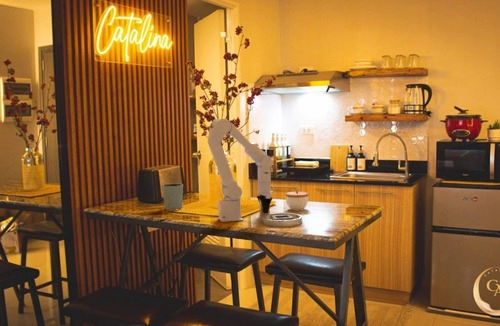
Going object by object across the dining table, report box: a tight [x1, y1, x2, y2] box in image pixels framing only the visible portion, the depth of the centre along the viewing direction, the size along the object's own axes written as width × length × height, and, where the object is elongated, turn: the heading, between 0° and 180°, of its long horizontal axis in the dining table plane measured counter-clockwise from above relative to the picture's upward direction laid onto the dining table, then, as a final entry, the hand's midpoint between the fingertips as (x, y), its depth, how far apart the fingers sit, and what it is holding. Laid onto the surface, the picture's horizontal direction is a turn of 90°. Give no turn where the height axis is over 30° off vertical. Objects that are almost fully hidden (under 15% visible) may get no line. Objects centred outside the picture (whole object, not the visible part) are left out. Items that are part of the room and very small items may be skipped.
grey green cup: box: [161, 182, 184, 211], centre depth 250 cm, size 10×10×12 cm
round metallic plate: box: [261, 212, 303, 228], centre depth 215 cm, size 16×16×2 cm
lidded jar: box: [285, 189, 309, 212], centre depth 243 cm, size 11×11×9 cm
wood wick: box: [258, 199, 271, 218], centre depth 227 cm, size 4×2×8 cm, turn 103°
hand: (264, 212), depth 227 cm, fingers open, 3 cm apart
